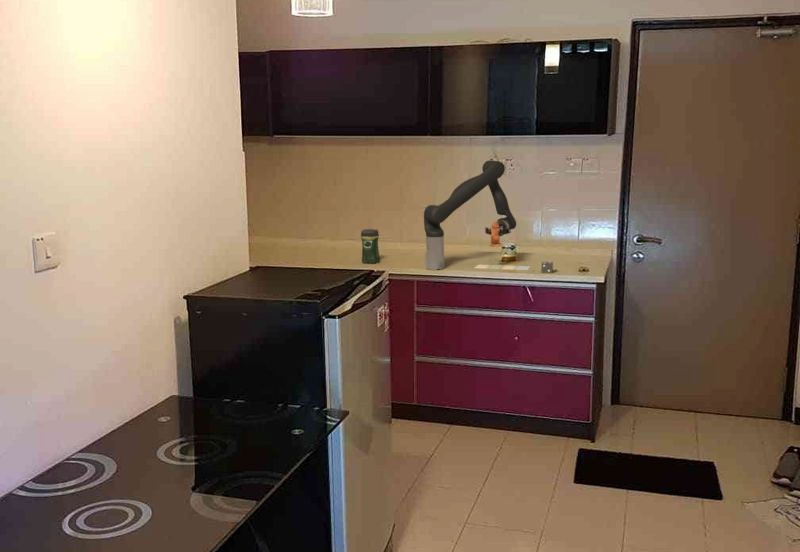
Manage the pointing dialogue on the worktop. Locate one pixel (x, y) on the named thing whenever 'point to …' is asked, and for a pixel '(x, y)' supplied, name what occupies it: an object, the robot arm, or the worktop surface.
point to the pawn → (495, 235)
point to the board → (503, 267)
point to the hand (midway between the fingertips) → (494, 232)
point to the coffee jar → (370, 246)
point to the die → (547, 267)
